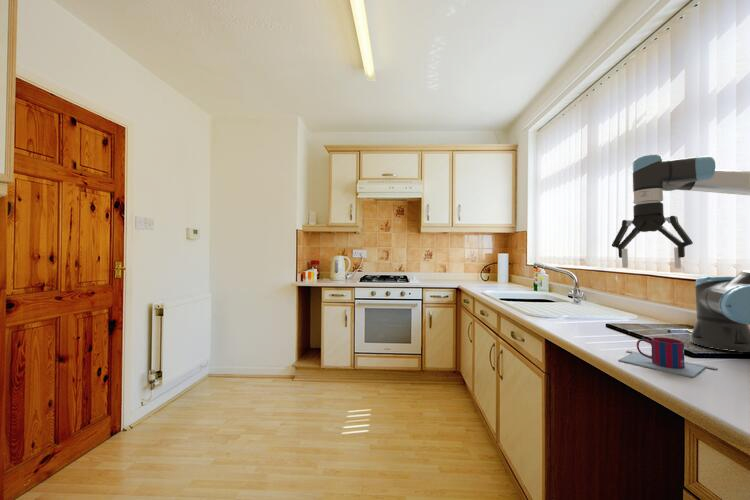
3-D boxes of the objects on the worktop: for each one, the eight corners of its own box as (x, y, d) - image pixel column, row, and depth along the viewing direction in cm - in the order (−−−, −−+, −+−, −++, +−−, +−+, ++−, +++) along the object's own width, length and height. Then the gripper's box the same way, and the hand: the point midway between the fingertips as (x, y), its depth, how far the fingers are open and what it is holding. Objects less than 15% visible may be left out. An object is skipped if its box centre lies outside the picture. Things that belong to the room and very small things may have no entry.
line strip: (628, 351, 103) (628, 350, 103) (717, 368, 86) (717, 367, 86) (626, 352, 102) (626, 351, 102) (716, 370, 85) (716, 369, 85)
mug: (683, 370, 84) (682, 345, 85) (635, 361, 92) (634, 338, 92) (686, 364, 89) (685, 340, 89) (640, 356, 96) (639, 334, 96)
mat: (632, 354, 100) (632, 352, 100) (704, 368, 87) (704, 367, 87) (618, 361, 94) (618, 359, 94) (693, 377, 81) (693, 376, 81)
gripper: (599, 207, 113) (601, 267, 113) (697, 196, 92) (700, 269, 92) (608, 209, 117) (610, 266, 117) (704, 198, 97) (707, 268, 96)
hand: (650, 268), depth 105 cm, fingers open, 13 cm apart
